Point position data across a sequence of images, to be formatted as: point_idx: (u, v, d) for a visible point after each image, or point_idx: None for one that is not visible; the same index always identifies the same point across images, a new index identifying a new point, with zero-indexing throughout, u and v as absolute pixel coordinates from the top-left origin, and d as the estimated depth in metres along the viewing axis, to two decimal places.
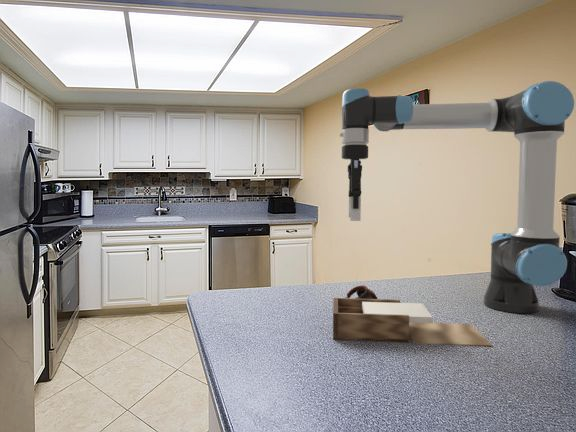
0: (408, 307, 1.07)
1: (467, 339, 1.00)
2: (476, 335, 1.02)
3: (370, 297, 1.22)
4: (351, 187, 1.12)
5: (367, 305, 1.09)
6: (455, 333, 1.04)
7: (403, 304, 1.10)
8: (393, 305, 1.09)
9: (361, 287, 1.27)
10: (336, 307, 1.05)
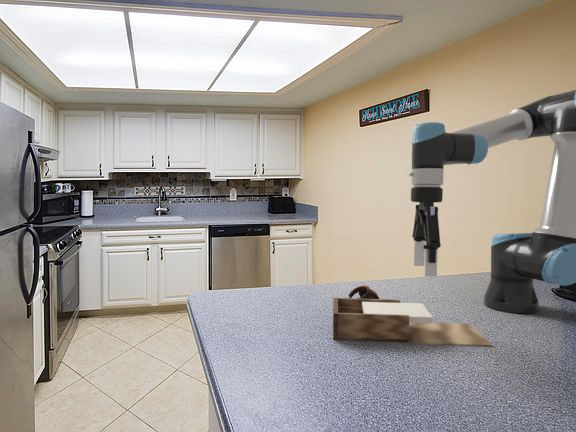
0: (408, 307, 1.07)
1: (467, 339, 1.00)
2: (476, 335, 1.02)
3: (372, 297, 1.22)
4: (426, 237, 0.97)
5: (367, 305, 1.09)
6: (455, 333, 1.04)
7: (403, 304, 1.10)
8: (393, 305, 1.09)
9: (363, 287, 1.26)
10: (336, 307, 1.05)
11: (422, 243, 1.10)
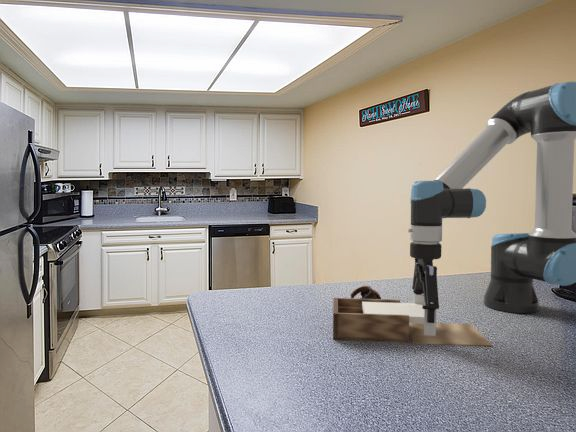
0: (408, 307, 1.07)
1: (467, 339, 1.00)
2: (476, 335, 1.02)
3: (374, 297, 1.22)
4: (425, 297, 0.98)
5: (367, 305, 1.09)
6: (455, 333, 1.04)
7: (403, 304, 1.10)
8: (393, 305, 1.09)
9: (365, 287, 1.26)
10: (336, 307, 1.05)
11: (422, 296, 1.11)
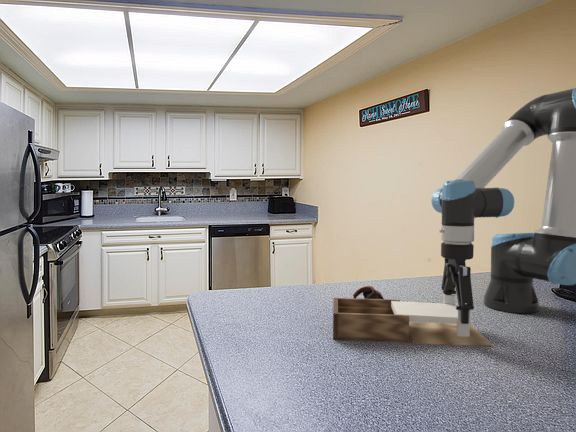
0: (439, 307, 1.06)
1: (467, 339, 1.00)
2: (476, 335, 1.02)
3: (377, 298, 1.21)
4: (459, 298, 0.97)
5: (397, 305, 1.08)
6: (455, 333, 1.04)
7: (433, 304, 1.09)
8: (423, 305, 1.09)
9: (367, 288, 1.26)
10: (336, 307, 1.05)
11: (452, 296, 1.10)
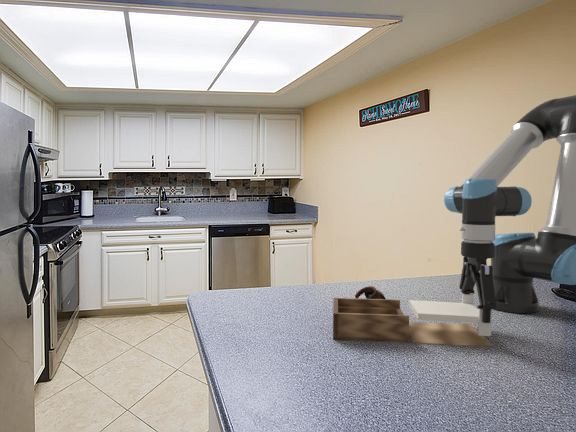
0: (458, 307, 1.05)
1: (467, 339, 1.00)
2: (476, 335, 1.02)
3: (379, 298, 1.21)
4: (480, 297, 0.97)
5: (416, 304, 1.07)
6: (455, 333, 1.04)
7: (452, 303, 1.08)
8: (442, 304, 1.08)
9: (369, 288, 1.25)
10: (336, 307, 1.05)
11: (471, 296, 1.09)
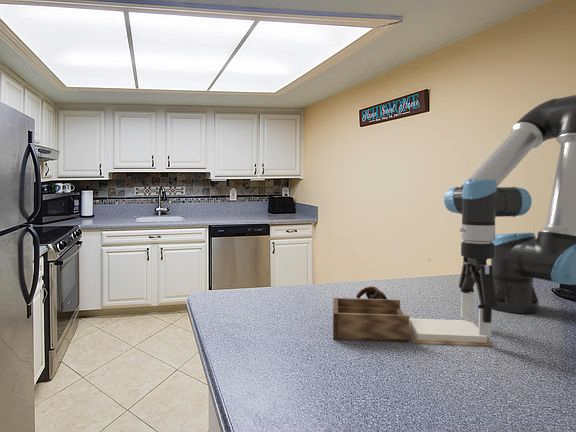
0: (458, 325, 1.06)
1: None
2: None
3: (381, 298, 1.21)
4: (481, 296, 0.96)
5: (416, 323, 1.08)
6: None
7: (452, 321, 1.09)
8: (441, 322, 1.08)
9: (371, 288, 1.25)
10: (336, 307, 1.05)
11: (470, 294, 1.10)
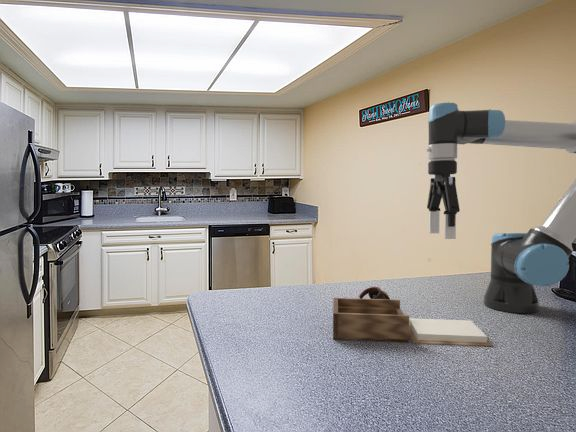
0: (458, 325, 1.06)
1: None
2: None
3: (384, 298, 1.21)
4: (446, 204, 1.09)
5: (416, 323, 1.08)
6: None
7: (452, 321, 1.09)
8: (441, 322, 1.08)
9: (374, 288, 1.25)
10: (336, 307, 1.05)
11: (437, 212, 1.23)
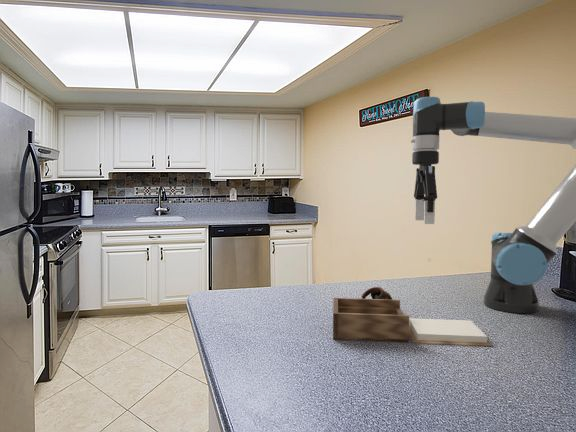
0: (458, 325, 1.06)
1: None
2: None
3: None
4: (425, 192, 1.17)
5: (416, 323, 1.08)
6: None
7: (452, 321, 1.09)
8: (441, 322, 1.08)
9: (376, 289, 1.25)
10: (336, 307, 1.05)
11: (422, 200, 1.30)
